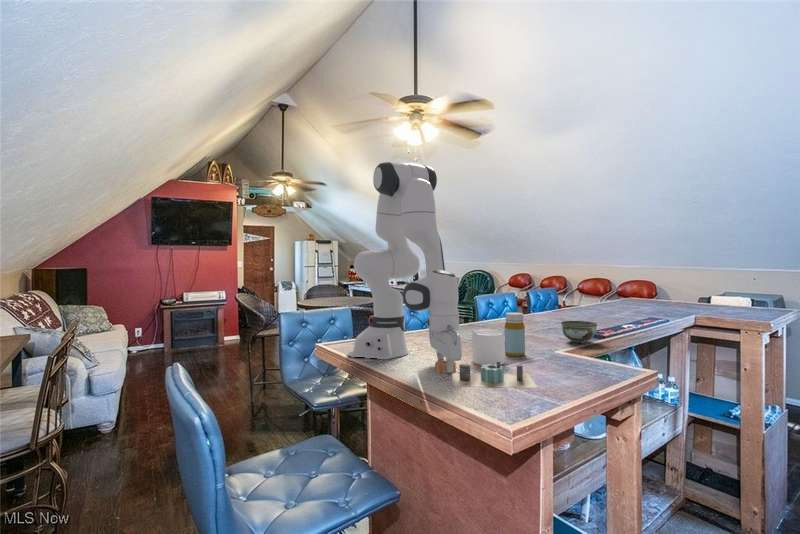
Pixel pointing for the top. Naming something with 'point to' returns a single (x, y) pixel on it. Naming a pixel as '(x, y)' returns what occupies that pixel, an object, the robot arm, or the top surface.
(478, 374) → the gear board
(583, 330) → the bowl
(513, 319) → the bottle
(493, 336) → the mug
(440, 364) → the gear
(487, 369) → the gear
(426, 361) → the top surface
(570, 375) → the top surface
